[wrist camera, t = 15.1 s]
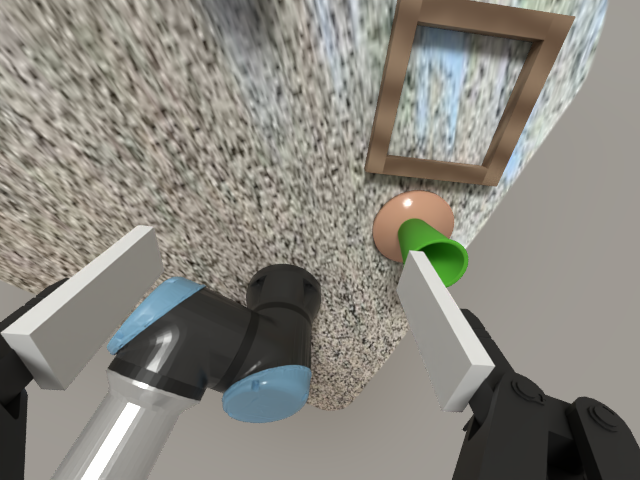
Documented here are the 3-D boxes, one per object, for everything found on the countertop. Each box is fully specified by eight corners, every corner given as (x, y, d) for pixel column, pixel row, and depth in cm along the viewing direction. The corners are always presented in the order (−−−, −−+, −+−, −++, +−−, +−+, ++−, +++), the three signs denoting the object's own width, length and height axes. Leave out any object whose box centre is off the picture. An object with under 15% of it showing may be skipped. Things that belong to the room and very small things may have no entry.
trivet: (436, 262, 52) (438, 265, 51) (365, 255, 51) (366, 259, 50) (463, 194, 45) (466, 197, 44) (382, 185, 44) (383, 188, 43)
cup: (435, 249, 49) (463, 289, 39) (385, 254, 49) (401, 294, 40) (441, 204, 44) (474, 236, 35) (386, 209, 45) (405, 242, 35)
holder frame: (489, 182, 44) (496, 186, 42) (364, 168, 42) (366, 172, 41) (562, 20, 33) (575, 16, 31) (398, -5, 32) (402, -10, 30)
